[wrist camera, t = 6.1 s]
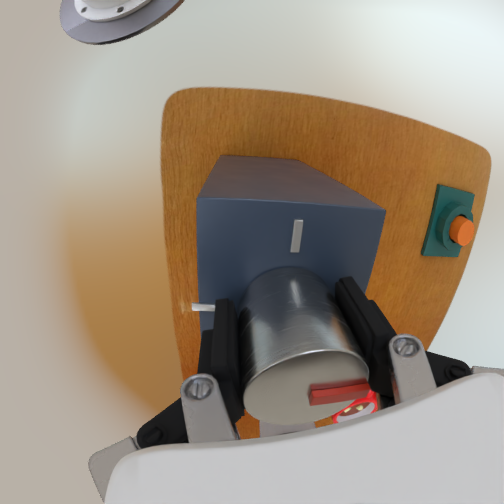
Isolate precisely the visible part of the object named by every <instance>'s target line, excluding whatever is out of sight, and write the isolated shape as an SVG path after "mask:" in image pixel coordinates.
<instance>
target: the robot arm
mask: <svg viewBox="0 0 504 504" xmlns="http://www.w3.org/2000/svg"><path fill="white" fill-rule="evenodd" d="M150 1H151V0H74V3H75V8H76V11H77V12H78V13H79V14H80V15H81V16H82V17H84V18H85V19H87V20H90V21H95V22H106V21H111V20H116V19H119V18H122V17H124V16H127V15H129V14H131V13H133V12H135V11H137V10H138V9H140V8H142V7H143V6H145V5H146V4H148V3H149V2H150ZM335 300H336V302H337V304H338V306H339V308H340V310H341V312H342V314H343V315H344V317H345V319H346V321H347V323H348V325H349V327H350V329H351V331H352V333H353V335H354V337H355V339H356V341H357V343H358V345H359V347H360V349H361V351H362V353H363V355H364V357H365V359H366V361H367V363H368V366H369V369H370V377H369V381H368V384H369V386H370V390H372V391H373V392H376V398H377V406H378V411H377V412H374V413H370V414H367V415H364V416H361V417H357V418H354V419H350V420H347V421H343V422H339V423H335V424H331V425H327V426H323V427H319V428H314V429H310V430H305V431H299V432H294V433H288V434H282V435H276V436H269V437H262V438H254V439H244V440H241V438H240V435H239V432H238V429H237V426H236V422H237V421H238V420H239V419H240V418H241V416H244V409H245V407H244V406H243V403H242V396H241V373H240V348H239V321H238V317H237V313H236V308H235V304H234V301H233V300H231V301H229V299H228V298H223V299H216V302H215V313H214V325H213V329H209V330H203V331H202V338H201V346H200V354H199V363H198V372H197V374H195V375H192V376H190V377H189V378H187V379H186V380H185V381H184V382H183V383H182V386H181V389H180V393H181V397H180V398H179V399H178V400H177V401H175V402H174V403H173V404H171V405H170V406H169V407H167V408H166V409H165V410H163V411H162V412H161V413H160V414H158V415H157V416H155V417H154V418H153V419H151V420H150V421H148V422H147V423H146V424H144V425H143V426H142V427H141V428H140V429H139V431H138V433H137V436H136V437H134V438H132V437H128V438H126V439H124V440H122V441H120V442H118V443H115V444H113V445H111V446H109V447H107V448H105V449H103V450H101V451H98V452H96V453H94V454H93V455H92V456H91V457H90V459H89V463H88V466H89V470H90V472H91V475H92V478H93V480H94V482H95V485H96V487H97V489H98V491H99V494H100V496H101V498H102V500H103V502H104V504H504V369H499V368H488V367H478V366H473V367H472V369H471V368H469V366H468V365H467V364H466V363H464V362H463V361H460V360H457V359H453V358H449V357H446V356H442V355H438V354H435V353H431V352H427V351H425V350H424V348H423V345H422V343H421V341H420V340H419V339H418V338H417V337H415V336H413V335H411V334H399V335H397V334H396V332H395V331H394V329H393V328H392V326H391V325H390V323H389V322H388V320H387V319H386V317H385V316H384V314H383V313H382V312H381V310H380V309H379V307H378V306H377V304H376V303H375V302H374V301H373V300H368V299H367V297H366V296H365V294H364V293H363V292H362V290H361V289H360V287H359V286H358V284H357V283H356V282H355V280H354V279H353V277H352V276H348V277H343V278H339V282H336V283H335Z"/></svg>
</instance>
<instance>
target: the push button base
mask: <svg viewBox="0 0 504 504" xmlns="http://www.w3.org/2000/svg"><path fill="white" fill-rule="evenodd" d="M474 196H475V195H474V194H472V193H469V192H466V191H462V190H458V189H455V188H451V187H447V186H443V185H439V184H437V190H436V195H435V200H434V204H433V209H432V213H431V218H430V222H429V226H428V230H427V233H426V237H425V241H424V244H423V248H422V251H421V254H422V255H423V256H443V257H458V255H459V252H460V249H461V247H463V246H461V245H459V244H458V243H456V242H455V241H453V240H452V239H451V238H450V236H449V229H450V225H451V223H452V221H453V220H454V218H455V217H456V216H463V217H465V218H466V219H468V220H470V221H472V223H473V215H472V213H471V209H472V205H473V200H474Z"/></svg>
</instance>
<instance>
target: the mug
mask: <svg viewBox="0 0 504 504" xmlns="http://www.w3.org/2000/svg"><path fill="white" fill-rule="evenodd" d="M377 408H378V406H377V399H376V397H375V394H374V392H373V391H372V390H370V391H369V393H368V394H367V396H366V397H365V398H361V399H356V400H355V401H354V402H352V403H351V404H350V405H349V406H347V407H346V408H344V409H343V410H341V411H339V412H337V413H335V414H333V415H331V416H332V419H333V422H334V424H335V423H339V422H343V421H347V420H350V419H354V418H357V417H361V416H364V415H367V414H370V413H374V412H375V411H376V410H377Z"/></svg>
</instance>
